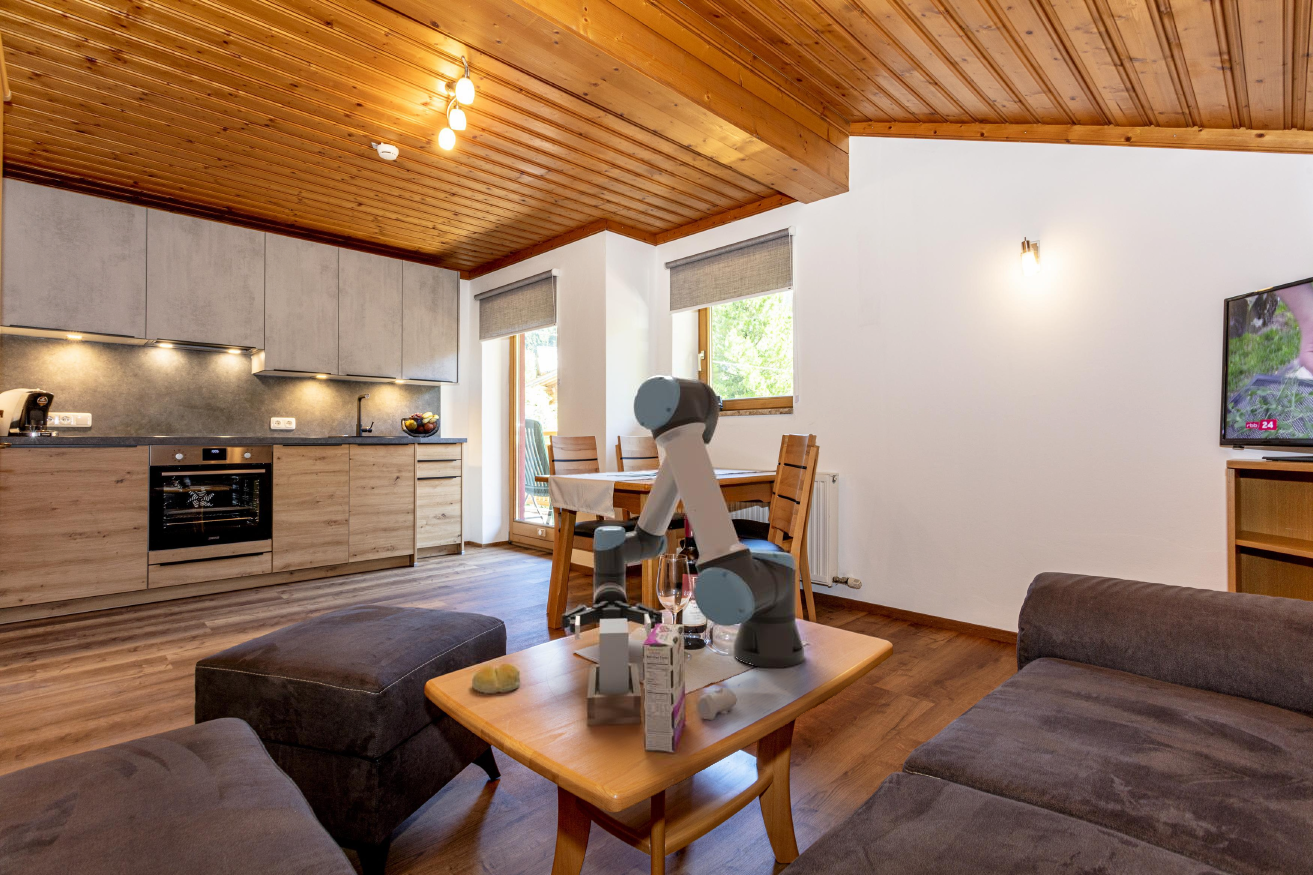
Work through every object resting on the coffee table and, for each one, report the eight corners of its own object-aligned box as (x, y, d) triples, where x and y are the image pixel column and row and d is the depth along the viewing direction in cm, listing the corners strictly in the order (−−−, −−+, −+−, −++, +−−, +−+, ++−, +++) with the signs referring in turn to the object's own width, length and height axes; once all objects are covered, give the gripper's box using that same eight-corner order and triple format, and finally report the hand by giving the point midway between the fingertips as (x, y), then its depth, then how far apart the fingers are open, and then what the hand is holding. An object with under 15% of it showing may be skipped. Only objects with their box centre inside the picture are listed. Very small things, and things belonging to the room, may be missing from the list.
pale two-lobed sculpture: (723, 710, 113) (744, 709, 110) (691, 722, 108) (711, 722, 104) (718, 685, 114) (738, 683, 111) (686, 695, 109) (706, 694, 105)
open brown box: (637, 686, 121) (636, 663, 121) (641, 722, 105) (641, 695, 105) (589, 688, 120) (589, 664, 120) (587, 724, 104) (587, 697, 104)
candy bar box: (656, 719, 106) (656, 622, 107) (686, 722, 105) (685, 623, 106) (641, 751, 95) (641, 642, 96) (674, 754, 94) (674, 644, 95)
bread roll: (473, 681, 125) (473, 660, 125) (520, 677, 127) (520, 657, 127) (470, 697, 117) (470, 675, 117) (519, 693, 119) (519, 671, 119)
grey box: (627, 688, 117) (626, 618, 118) (628, 708, 109) (628, 632, 109) (600, 689, 117) (599, 619, 117) (599, 709, 108) (599, 633, 108)
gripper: (666, 618, 142) (678, 648, 121) (553, 621, 139) (546, 653, 118) (666, 585, 142) (678, 609, 121) (553, 587, 140) (546, 613, 118)
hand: (613, 631), depth 120 cm, fingers open, 13 cm apart
